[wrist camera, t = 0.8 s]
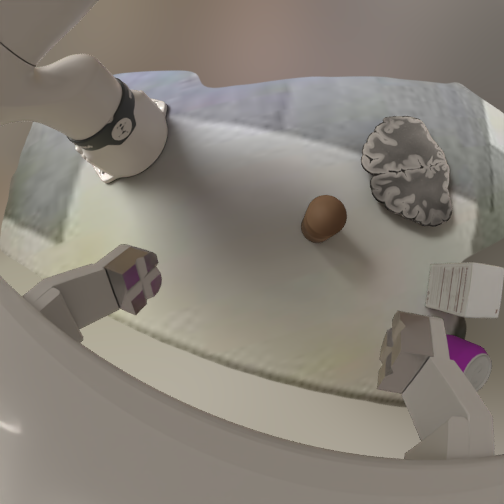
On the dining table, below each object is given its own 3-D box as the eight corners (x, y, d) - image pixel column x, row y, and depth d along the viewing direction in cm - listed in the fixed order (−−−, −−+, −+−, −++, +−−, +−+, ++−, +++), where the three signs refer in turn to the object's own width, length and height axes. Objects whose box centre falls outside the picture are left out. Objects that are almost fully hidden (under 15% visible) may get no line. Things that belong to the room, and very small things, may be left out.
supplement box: (460, 267, 38) (506, 267, 26) (455, 309, 38) (498, 320, 25) (429, 262, 39) (473, 260, 26) (423, 307, 39) (465, 319, 26)
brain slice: (342, 130, 42) (345, 121, 39) (420, 121, 40) (426, 114, 37) (377, 241, 40) (383, 240, 38) (455, 220, 39) (464, 218, 36)
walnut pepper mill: (295, 230, 42) (298, 218, 32) (313, 205, 42) (321, 187, 32) (320, 249, 41) (331, 243, 31) (338, 224, 41) (354, 211, 31)
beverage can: (434, 328, 38) (473, 344, 26) (462, 338, 37) (501, 354, 25) (416, 369, 38) (450, 395, 26) (445, 376, 37) (480, 400, 25)
